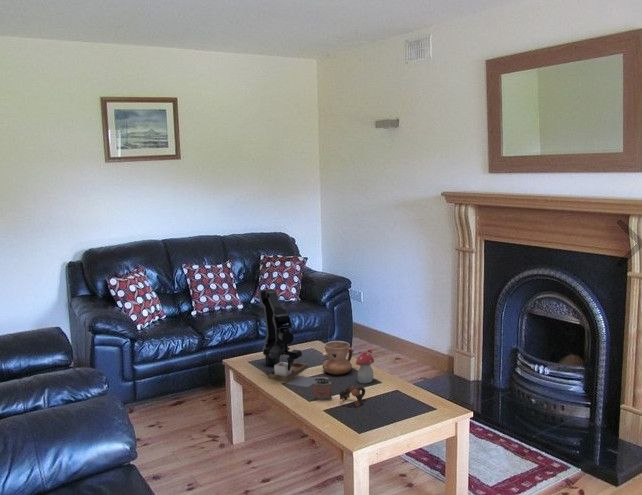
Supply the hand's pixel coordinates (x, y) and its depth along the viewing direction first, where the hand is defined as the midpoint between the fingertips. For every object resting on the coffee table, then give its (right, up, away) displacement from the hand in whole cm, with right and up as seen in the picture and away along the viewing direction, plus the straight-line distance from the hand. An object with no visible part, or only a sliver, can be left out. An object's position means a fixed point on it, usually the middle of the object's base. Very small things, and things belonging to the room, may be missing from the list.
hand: (283, 369), depth 293 cm
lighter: (+19, -8, -28) cm, 35 cm away
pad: (+10, -5, -7) cm, 13 cm away
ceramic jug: (+27, -3, +6) cm, 28 cm away
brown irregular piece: (+33, -8, -33) cm, 47 cm away
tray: (+2, -3, +5) cm, 6 cm away
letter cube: (0, -3, 0) cm, 3 cm away
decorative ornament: (+39, -4, -8) cm, 40 cm away
